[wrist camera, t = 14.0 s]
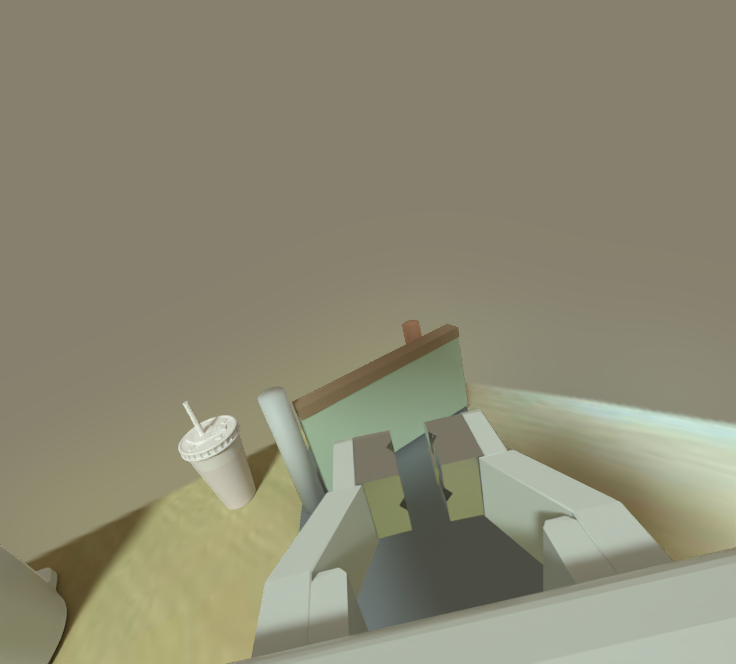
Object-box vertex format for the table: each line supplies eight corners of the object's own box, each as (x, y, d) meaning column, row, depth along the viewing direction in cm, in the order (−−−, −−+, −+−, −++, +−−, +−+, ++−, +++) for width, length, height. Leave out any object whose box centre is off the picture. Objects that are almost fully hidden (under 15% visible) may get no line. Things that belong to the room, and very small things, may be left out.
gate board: (290, 664, 25) (204, 522, 19) (312, 442, 47) (276, 345, 41) (572, 597, 25) (572, 433, 19) (461, 406, 47) (445, 302, 41)
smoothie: (218, 485, 44) (169, 395, 38) (268, 468, 45) (226, 377, 39) (208, 528, 38) (148, 429, 33) (265, 507, 39) (216, 407, 33)
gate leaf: (330, 495, 36) (298, 409, 31) (323, 484, 37) (292, 402, 33) (468, 405, 44) (457, 327, 39) (458, 399, 45) (447, 323, 41)
